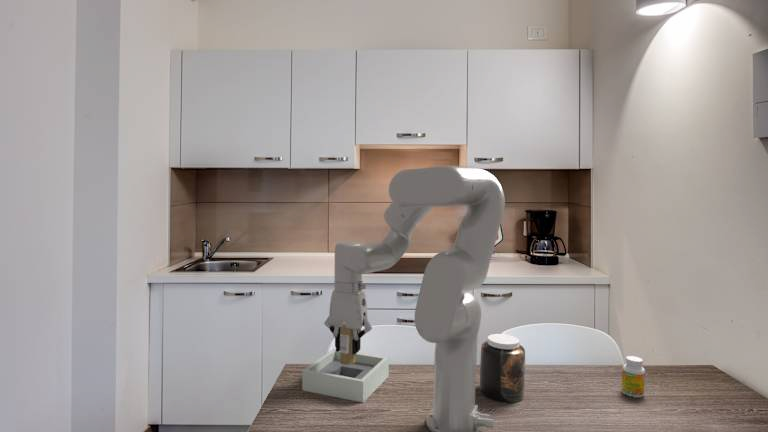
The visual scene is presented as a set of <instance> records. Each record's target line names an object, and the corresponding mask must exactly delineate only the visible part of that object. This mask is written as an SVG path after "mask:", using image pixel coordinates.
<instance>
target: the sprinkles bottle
mask: <svg viewBox="0 0 768 432" xmlns="http://www.w3.org/2000/svg"><path fill="white" fill-rule="evenodd" d="M342 324H346V323H345V322H343V323H342ZM345 326H346V325H343V327H340V363H341V364H344V365H351V364H354V363H355V362H356V360H355V354H353V353H352V341H353V340H354V334H353V329H349V328H346V327H345Z"/></svg>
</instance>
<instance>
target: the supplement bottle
mask: <svg viewBox="0 0 768 432" xmlns="http://www.w3.org/2000/svg"><path fill="white" fill-rule="evenodd" d="M643 362H644V361H643V358H641V357H638V356H634V355H629V356H628V355H627V356H626V357H625V364H623V365H622V373H621V375H622V377H621V392H622V394H624V395H625V394H627V395H626V396H628V395H629V396H628V397H631V396H633V397H632V398H643V397H644V395H645V382H646V381H645V380H646V379H645V378H646V370H645V368H644V367H643V365H644V364H643Z"/></svg>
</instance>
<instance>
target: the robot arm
mask: <svg viewBox="0 0 768 432" xmlns="http://www.w3.org/2000/svg"><path fill="white" fill-rule="evenodd" d="M388 194H389V198H390V199H391V201H392V202H391V203H390V204H389V206H388V207H387V208H386V210H385V211H384V214H383V219H384V221H385V223H386V224H387V225H386V226H387V227H389V228H390V231H389V232H388V233H387V235H385V237H384V238H383V239H382V240H381V241H380V242H373V243H366V244H361V243H359V242H356V241H342V242H337V243H336V244H335V247H334V287H333V288H334V290H333V291H332V293H331V297H330V303H329V312H328V313H329V314H328V317H327V318H326V320H325V321H324V323H323V325H325V327H326V328H328V329H329V331H330V332H331V333H332V335H333V337H334V347H335V349H336V351H337V352H338V351H340V327H343V325H346V326H345V327H346V328H349V329H353V334H354V340H353V341H352V353H353V354H356V353H360V350H361V338H362V337H363V336H365V335H366V334H367V333H369V332H371V331H372V330H373V327H372V325H371V324H370V322H369V320H368V319H369V318H368V304H367V298H366V292H365V291H364V290H366V289H367V284H365V283H363V280H362V279H363V274H370V273H375V272H379V271H380V272H381V271H384V270H385V271H386V270H387V269H390V268H392V267H393V266H394V265H395V264H397V263H398V262H399V261H400V259H401V258H402V257H403V256H404V255H405V254H406V252H407V251H408V249H409V247H410V245H411V241H412V237H413V235H412V234H413V231H414V230H415V229H416V228H417V227H418V225H419V224H420V223H421V222H422V221H423V219H425V217H426V216H427V214H429V213H430V211H432V209H433V208H434V207H456V206H458V207H459V206H467V210H466V212H465V214H464V216H463V218H462V219H461V221H460V223H459V226H458V227H457V228H458V229H457V234H456V237H455V240H454V242H453V243H454V244H453V246H452V248H451V249H449V250H448V249H447V250H444V251H441V252H438V253H436V254H435V255H433V257H431V259H430V260H429V261H428V263H427V265H426V267H425V269H424V272H423V277H422V281H421V284H420V289H419V293H418V297H417V301H416V306H415V309H414V310H415V311H414V325H415V328H416V331H417V333H418V335H419V336H420V337H421V338H422V339H423V340H425V342H428V343H432V344H435V348H434V363H433V364H434V367H433V369H434V370H433V406H432V407H433V410H432V411H431V412H429V413H428V415H427V416H426V421H425V423H426V426H427V428H428V429H429V431H431V432H481V430H482V427H485V428H489V429H494V425H495V420H494V419H493V418H491V414H488V413H481V412H480V411H479V405H478V404H476V384H477V383H476V380H477V377H476V375H477V353H478V350H477V349H478V340H479V333H480V328H481V323H482V308H481V305H480V302H479V300H478V299H477V297H475V295H474V294H472V293H470V292H469V291H472V290H474V289H478V288H479V287H481V285H483V284H484V283H485V281H486V280H487V279H486V278H487V276H488V272H489V268H490V264H491V260H492V258H493V257H492V256H493V254H494V253H493V252H494V249H495V245H496V243H497V242H496V241H497V237H498V234H499V231H500V227H501V224H502V220H503V217H504V213H505V207H506V200H505V197H506V196H505V193H504V190H503V188H502V185H501V183H500V182H499V180H498V179H497V177H495V175H493V174H492V173H491V172H489V171H487V170H485V169H483V168H480V167H476V166H475V167H474V166H459V165H439V166H432V167H421V168H411V169H409V168H408V169H403V170H400V171H399V172H397V173H396V174H395V175H394V176H393V177H392V178H391V180H390V182H389V185H388ZM343 322H345V323H346V324H342V323H343ZM362 327H363V329H362Z"/></svg>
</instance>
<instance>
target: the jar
mask: <svg viewBox="0 0 768 432" xmlns="http://www.w3.org/2000/svg"><path fill="white" fill-rule="evenodd" d="M479 364H480V369H479V391H480V394H481V395H482V396H483V397H485V398H486V397H487V399H488V398H489V399H488V400H491V401H495V402H497V401H498V402H497V403H503V402H507V403H508V402H514V403H518V402H520V400H521V399H522V400H523V399H524V398H523V397H525V384H526V382H525V381H526V380H525V379H526V350H525V347H524V346H522V345H521V344H520V339H519V338H517V336H513V335H510V334H505V333H493V334H489V335H487V340H486V341H484V342H483V343H482V344H481V348H480V363H479ZM522 400H521V401H522ZM517 401H518V402H517ZM507 403H506V404H507ZM508 404H509V403H508Z"/></svg>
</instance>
